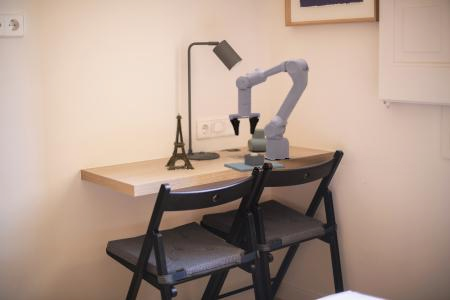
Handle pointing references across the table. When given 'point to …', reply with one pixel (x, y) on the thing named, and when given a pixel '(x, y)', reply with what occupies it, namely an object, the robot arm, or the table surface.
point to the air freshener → (257, 141)
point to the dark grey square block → (254, 160)
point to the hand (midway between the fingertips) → (244, 134)
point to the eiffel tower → (177, 144)
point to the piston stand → (243, 167)
